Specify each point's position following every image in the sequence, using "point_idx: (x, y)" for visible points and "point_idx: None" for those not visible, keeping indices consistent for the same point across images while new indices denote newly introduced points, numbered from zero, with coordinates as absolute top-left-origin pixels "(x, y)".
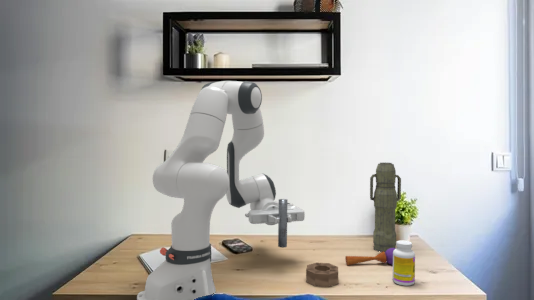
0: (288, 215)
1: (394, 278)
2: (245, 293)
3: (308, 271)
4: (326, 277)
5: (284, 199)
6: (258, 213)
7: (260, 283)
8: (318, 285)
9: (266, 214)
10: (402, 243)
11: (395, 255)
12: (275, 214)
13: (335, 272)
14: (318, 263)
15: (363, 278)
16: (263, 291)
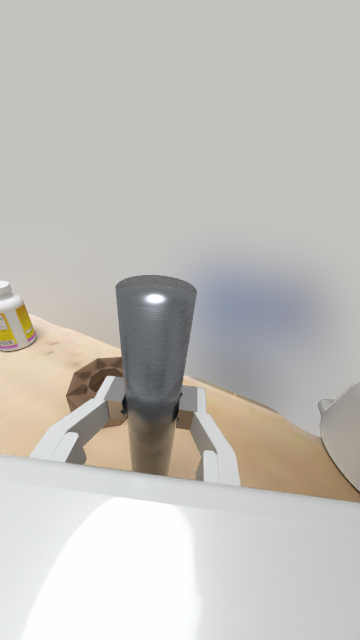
0: (71, 433)
1: (29, 338)
2: (260, 409)
3: None
4: None
5: (139, 288)
6: (358, 518)
7: (229, 439)
8: None
9: (262, 490)
10: (3, 284)
11: (18, 306)
12: (169, 478)
13: (104, 358)
14: None
15: (41, 373)
16: (228, 403)
